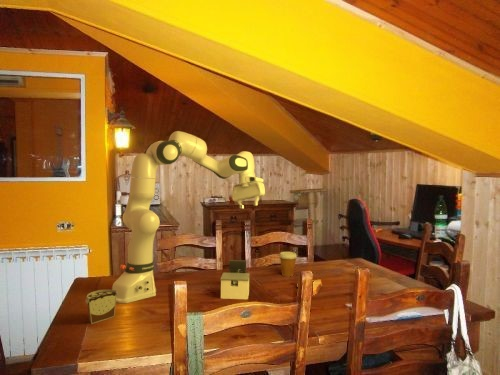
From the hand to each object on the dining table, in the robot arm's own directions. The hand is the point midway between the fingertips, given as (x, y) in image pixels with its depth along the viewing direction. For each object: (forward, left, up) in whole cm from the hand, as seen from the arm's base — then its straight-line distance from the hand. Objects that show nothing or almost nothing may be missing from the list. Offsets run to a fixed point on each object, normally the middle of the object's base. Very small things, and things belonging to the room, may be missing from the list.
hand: (248, 207), depth 204 cm
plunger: (-23, -9, -36) cm, 43 cm away
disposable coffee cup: (+17, -15, -38) cm, 44 cm away
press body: (-27, -11, -38) cm, 48 cm away
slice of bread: (+3, -35, -38) cm, 52 cm away
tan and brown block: (-79, +16, -38) cm, 89 cm away
